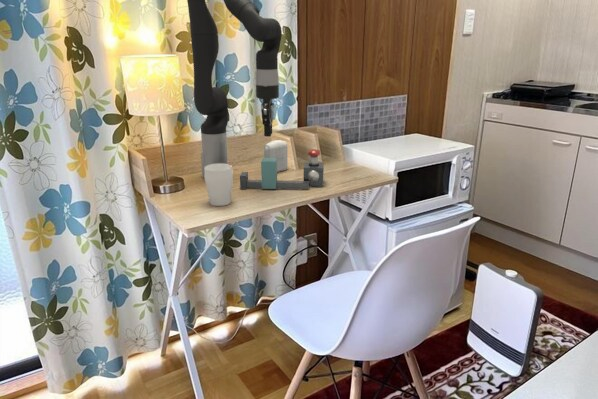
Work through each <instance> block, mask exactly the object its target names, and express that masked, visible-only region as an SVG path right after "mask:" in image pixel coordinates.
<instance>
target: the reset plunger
mask: <svg viewBox="0 0 598 399" xmlns="http://www.w3.org/2000/svg"><path fill="white" fill-rule="evenodd" d="M307 155H308V156H309V162H310V166H318V162H319V156H320V155H321V150H320V149H316V148H314V149H308V150H307Z"/></svg>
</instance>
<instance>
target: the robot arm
mask: <svg viewBox="0 0 598 399" xmlns="http://www.w3.org/2000/svg"><path fill="white" fill-rule="evenodd" d="M186 1H187V2H186V3H187V8H188V16H189V26H190V39H191V41H190V42H191V43H190V44H191V49H192V50H191V51H192V62H193V64H192V65H193V104H194V106H195V109H196V111H197V112H198V113H199V114H200V115H203V116H206V118H205V120H204V121H203V122H202V123H201V124H200V134H201V137H200V138H201V149H202V150H201V153H200V161H201V176H202V179H205V177H204V167H205V166H207V165H210V164H218V163H222V164H229V162H228V161H229V160H228V158H229V157H228V156H229V155H228V141H227V126H228V122H229V103H228V102H229V101H228V97H227V94H226V92H225V91H224V89H222V88H221V87H220V86H219V87H218V86H214V87H213V76H212V75H213V70H214V66H215V64H216V61H217V58H218V54H219V49H220V46H219V45H220V44H219V32H218V31H219V30H218V27H217V25H216V22H215V20H214V17H213V15H212V14H211V12H210V10H209V7H208V6H207V2H206V0H186ZM223 4H224V5H225V8H227V10H228V12H229V13H230V14H232V16H233V17H234V18H236V19H237V21H239V22H240V23H241V24H242V25H243V28H244V29H245V30H246V32H247V33H248V35H249V36H250V37H251V38H252V39H253V40H255V41H257V42H260V43H262V47H261V49H260V50H257V52H256V54H255V97H256V98H257V99H258V100H259V99H260V100H262V103H261V104H260V110H261V111H260V112H261V120H262V121H261V122H262V123H261V124H262V125H263V130H264V131H263V132H264V133H263V135H264V137H268V138H269V137H271V136H272V134H273V123H274V116H275V114H274V113H275V112H274V111H275V110H274V109H275V103H274V102H273V100H275V99H276V100H277V99H278V98H280V97H279V96H280V92H279V90H280V88H279V86H280V84H279V80H280V78H279V67H278V66H279V65H278V64H279V63H278V62H279V61H278V55H279V51H280V46H281V42H282V34H283V31H282V28H281V27H282V26H281V24H280V22H279V21H278V19H275V18H271V17H269V18H268V17H266V18H265V17H262V16H260V10H259V8H258V6H256V4H255V3H253V2H252V0H223Z"/></svg>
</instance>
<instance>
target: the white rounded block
mask: <svg viewBox="0 0 598 399" xmlns="http://www.w3.org/2000/svg"><path fill="white" fill-rule="evenodd" d="M263 158H277V173H278V172H282V171H286V170H288V143H287V141H286V140H285V141H284V140H280V139H275V140H272V141H270V142H268V143H266V144H264V147H263Z"/></svg>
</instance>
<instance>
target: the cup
mask: <svg viewBox="0 0 598 399" xmlns="http://www.w3.org/2000/svg"><path fill="white" fill-rule="evenodd" d="M204 177H205V178H204V182H205V187H206V191H207V195H208V199H209V204H210V205H212V206H215V207H223V206H228V205H229V204H231V202H232V192H233V182H234V181H233V180H234V172H233V166H232V165H231V164H229V163H228V164H222V163H218V164H210V165H207V166H205V167H204Z"/></svg>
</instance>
